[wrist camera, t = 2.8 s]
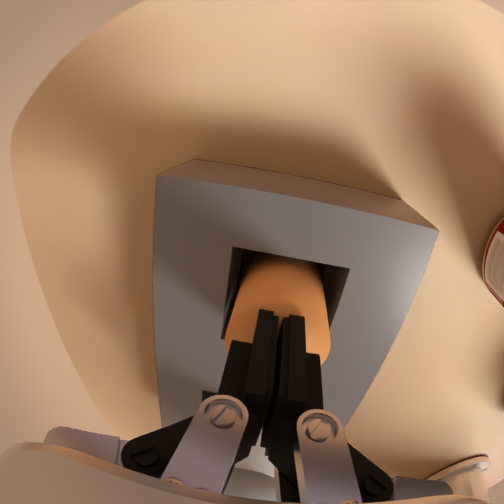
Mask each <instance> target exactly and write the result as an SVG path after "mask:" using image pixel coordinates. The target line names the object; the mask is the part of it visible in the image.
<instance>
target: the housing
mask: <svg viewBox="0 0 504 504" xmlns="http://www.w3.org/2000/svg"><path fill="white" fill-rule="evenodd" d="M438 233H439V230H438V229H437V228H436V227H435V226H433V225H432V224H431V223H430V222H429V221H428V220H426V219H425V218H424V217H423V216H422V215H420V214H419V213H418V212H417V211H415V210H414V209H413V208H412V207H411V206H409V205H408V204H407V203H406V202H404V201H403V200H399V199H395V198H392V197H388V196H384V195H380V194H376V193H372V192H368V191H364V190H359V189H355V188H351V187H347V186H342V185H338V184H333V183H328V182H324V181H319V180H314V179H309V178H304V177H299V176H294V175H289V174H284V173H278V172H273V171H267V170H261V169H255V168H249V167H243V166H237V165H230V164H224V163H217V162H210V161H202V160H195V159H192V160H190V161H187V162H185V163H183V164H180V165H178V166H176V167H173V168H171V169H169V170H167V171H164V172H162V173H160V174H158V175H157V176H156V191H155V210H154V237H153V308H154V336H155V354H156V369H157V382H158V393H159V404H160V413H161V422H162V428H164V427H167V426H169V425H172V424H174V423H177V422H179V421H182V420H184V419H187V418H189V417H191V416H194V415H195V414H196V412H197V410H198V408H199V406H200V405H201V403H202V402H203V401H204V400H206V399H207V398H209V397H211V396H215V395H216V394H213V392H214V393H218V390H219V387H220V383H221V379H222V375H223V371H224V368H225V364H226V360H227V356H228V353H227V350H226V346H225V335H226V331H227V328H228V325H229V321H230V318H231V315H232V312H233V308H234V305H235V302H236V298H237V295H238V292H239V289H237V283H238V276H239V270H240V263H241V256H242V250H243V248H244V249H249V250H254V251H260V252H265V253H270V254H275V255H281V256H286V257H291V258H297V259H302V260H307V261H313V262H318V263H323V264H326V267H325V271H324V274H323V278H322V284H323V290H324V297H325V303H326V310H327V317H328V324H329V332H330V340H331V346H330V351H329V354H328V356H327V358H326V360H325V361H324V363H323V364H322V365H321V376H322V391H323V407H324V410H326V411H328V412H331V413H332V414H334V415H335V416H336V417H337V418H338V419H339V420H340V421H341V423H342V426H343V429H344V427H345V426H346V424H347V423H348V421H349V420H350V418H351V417H352V415H353V413H354V412H355V410H356V409H357V407H358V405H359V404H360V402H361V400H362V399H363V397H364V395H365V394H366V392H367V390H368V389H369V387H370V385H371V383H372V382H373V380H374V378H375V376H376V374H377V373H378V371H379V369H380V367H381V365H382V363H383V362H384V360H385V358H386V356H387V354H388V352H389V350H390V348H391V346H392V344H393V342H394V340H395V338H396V336H397V334H398V332H399V330H400V328H401V326H402V323H403V321H404V319H405V317H406V315H407V312H408V310H409V308H410V306H411V303H412V301H413V299H414V296H415V294H416V292H417V289H418V287H419V284H420V282H421V279H422V277H423V274H424V272H425V269H426V267H427V264H428V261H429V259H430V256H431V253H432V250H433V248H434V245H435V242H436V239H437V236H438Z"/></svg>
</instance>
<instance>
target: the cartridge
mask: <svg viewBox="0 0 504 504" xmlns="http://www.w3.org/2000/svg"><path fill="white" fill-rule="evenodd" d="M261 434H262V429H261V432H260V435H259V438H258V441H257V443H256V446H252V448H251V451H250V454H249V457H247V458H245V459H243V460H241V461H240V462H238V463H236V465H235V468H234V471H233V473H232V476H231V478H230V481H229V483H228V486H227V488H226V491H225V493H224V494H226V495H231V496H238V497H244V498H251V499H259V500H267V501H277V499H276V488H275V477H274V467H275V466H274V465H273V464H272V463H271V462H270V461H269V460H268V456H265V448H264V447H260V442H261Z"/></svg>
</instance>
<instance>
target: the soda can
mask: <svg viewBox="0 0 504 504" xmlns="http://www.w3.org/2000/svg"><path fill="white" fill-rule="evenodd" d="M482 273H483V279H484V282H485V285H486V287H487V288H488V290H489V291H490V292H491V293H492V294H493V295H494V297H495V298H496V299H497V300H498V301H499V302H500V303H501V305H502V306H503V307H504V217H503V218H502V219H501V220H500V221H499V222H498V224H497V225H496V226H495V228H494V230H493V231H492V233H491V235H490V237H489V239H488V242H487V245H486V248H485V251H484V256H483V263H482Z"/></svg>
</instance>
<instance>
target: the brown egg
mask: <svg viewBox="0 0 504 504" xmlns="http://www.w3.org/2000/svg"><path fill="white" fill-rule="evenodd" d="M259 309H264V310H269V311H274V315H275V316H279V324H278V335H279V331H280V328H281V324H282V320H283V317H286V318H289V315H290V314H292V315H298V316H304V317H305V332H306V352H307V353H314V354H319V355H320V363H321V365H322V364H323V363H324V361H325V360H326V358H327V356H328V354H329V351H330V346H331V340H330V332H329V324H328V317H327V310H326V303H325V297H324V290H323V284H322V277H321V273H320V270H319V267H318V266H317V264H316V262H313V261H307V260H302V259H297V258H291V257H286V256H281V255H275V254H270V253H265V252H260V253H258V254H257V255H255V256H254V257H253V258H252V259H251V261H250V262H249V263H248V265H247V267H246V270H245V272H244V276H243V279H242V282H241V285H240V289H239V292H238V295H237V298H236V302H235V305H234V308H233V312H232V315H231V318H230V321H229V325H228V328H227V331H226V335H225V346H226V350H227V353H228V352H229V349H230V345H231V341H232V340H237V341H242V342H248V343H252V342H253V337H254V333H255V328H256V323H257V318H258V313H259ZM277 339H278V338H277Z"/></svg>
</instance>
